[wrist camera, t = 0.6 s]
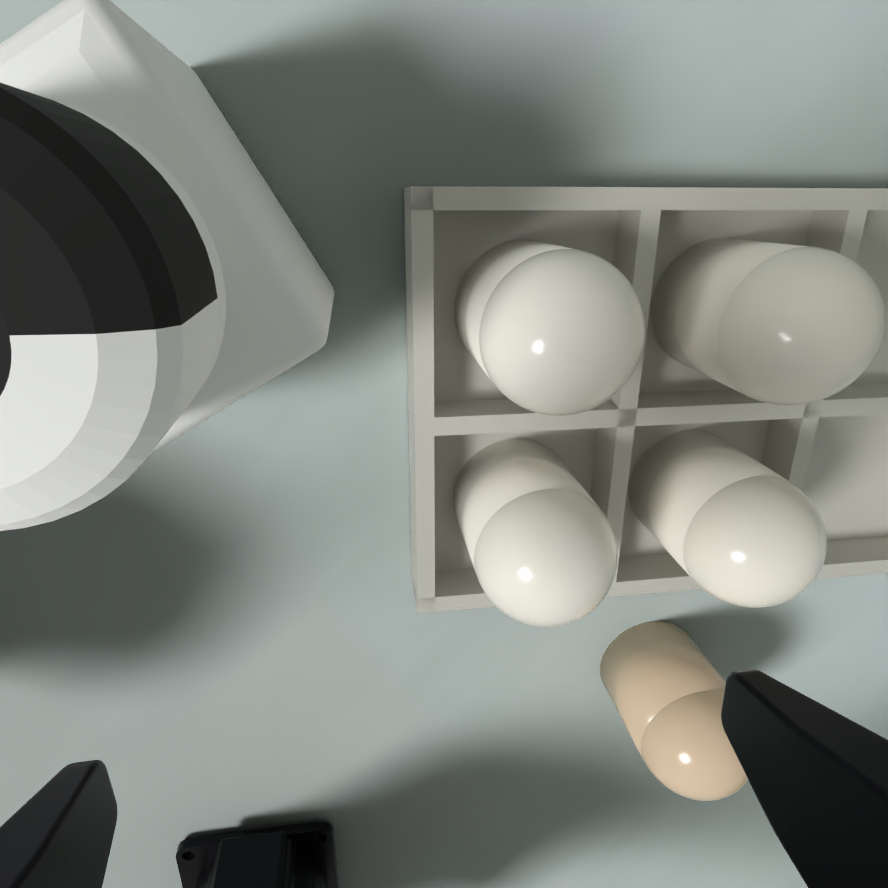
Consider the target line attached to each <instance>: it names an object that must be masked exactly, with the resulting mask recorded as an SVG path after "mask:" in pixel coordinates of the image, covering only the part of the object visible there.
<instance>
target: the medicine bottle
mask: <svg viewBox="0 0 888 888" xmlns="http://www.w3.org/2000/svg"><path fill="white" fill-rule="evenodd" d="M334 293H335V292H334V289H333V286H332V284H331V283H330V281H329V280H328V278H327V277H326V275H325V274H324V272H323V270H322V269H321V267H320V266H319V264H318V263H317V261H316V260H315V258H314V256H313V255H312V253H311V252H310V250H309V249H308V247H307V245H306V244H305V242H304V241H303V239H302V238H301V236H300V235H299V233H298V231H297V230H296V228H295V227H294V225H293V224H292V222H291V221H290V219H289V217H288V216H287V214H286V213H285V211H284V210H283V208H282V206H281V205H280V203H279V202H278V200H277V199H276V197H275V196H274V194H273V192H272V191H271V189H270V188H269V186H268V185H267V183H266V182H265V180H264V178H263V177H262V175H261V174H260V172H259V171H258V169H257V167H256V166H255V164H254V163H253V161H252V160H251V158H250V157H249V155H248V153H247V152H246V150H245V149H244V147H243V146H242V144H241V143H240V141H239V139H238V138H237V136H236V135H235V133H234V132H233V130H232V128H231V127H230V125H229V124H228V122H227V121H226V119H225V118H224V116H223V114H222V113H221V111H220V110H219V108H218V107H217V105H216V103H215V102H214V100H213V99H212V97H211V96H210V94H209V93H208V91H207V89H206V88H205V86H204V85H203V83H202V82H201V80H200V79H199V77H198V75H197V74H196V73H195V72H194V71H193V70H192V69H191V68H190V67H189V66H188V65H186V64H185V63H184V62H183V61H182V60H180V59H179V58H178V57H177V56H176V55H174V54H173V53H172V52H171V51H170V50H168V49H167V48H166V47H165V46H164V45H162V44H161V43H160V42H159V41H158V40H156V39H155V38H154V37H153V36H152V35H150V34H149V33H148V32H147V31H146V30H144V29H143V28H142V27H141V26H140V25H138V24H137V23H136V22H135V21H134V20H132V19H131V18H130V17H129V16H128V15H126V14H125V13H124V12H123V11H122V10H120V9H119V8H118V7H117V6H116V5H114V4H113V3H112V2H111V1H110V0H63V1H62V2H61V3H59V4H58V5H56V6H55V7H53V8H52V9H50V10H49V11H47V12H46V13H44V14H43V15H42V16H40V17H39V18H37V19H36V20H34V21H33V22H31V23H30V24H28V25H27V26H25V27H24V28H23V29H21V30H20V31H18V32H17V33H15V34H14V35H12V36H11V37H9V38H8V39H6V40H5V41H3V42H2V43H1V44H0V531H4V530H12V529H20V528H27V527H31V526H35V525H39V524H43V523H47V522H51V521H55V520H57V519H60V518H62V517H65V516H68V515H70V514H73V513H75V512H78V511H80V510H82V509H84V508H86V507H88V506H89V505H91V504H93V503H95V502H96V501H98V500H100V499H102V498H104V497H105V496H107V495H108V494H109V493H111V492H112V491H113V490H114V489H116V488H117V487H118V486H120V485H121V484H122V483H123V482H125V481H126V480H127V479H128V478H129V477H130V476H131V475H132V474H133V473H134V472H135V471H136V470H137V469H138V467H139V466H140V465H141V464H142V463H143V462H144V461H145V460H146V459H147V458H148V456H149V455H150V454H151V453H153V452H154V451H156V450H158V449H159V448H161V447H163V446H164V445H166V444H167V443H169V442H171V441H172V440H174V439H176V438H177V437H179V436H180V435H182V434H184V433H185V432H187V431H189V430H190V429H192V428H193V427H195V426H197V425H198V424H200V423H202V422H203V421H205V420H206V419H208V418H210V417H211V416H213V415H215V414H216V413H218V412H219V411H221V410H223V409H224V408H226V407H228V406H229V405H231V404H232V403H234V402H236V401H237V400H239V399H241V398H242V397H244V396H245V395H247V394H249V393H250V392H252V391H254V390H255V389H257V388H258V387H260V386H262V385H263V384H265V383H267V382H268V381H270V380H271V379H273V378H275V377H276V376H278V375H279V374H281V373H283V372H284V371H286V370H288V369H289V368H291V367H292V366H294V365H296V364H297V363H299V362H301V361H302V360H304V359H305V358H307V357H309V356H310V355H312V354H314V353H315V352H317V351H318V350H320V349H321V348H322V347H323V346H324V345H325V344H326V342H327V337H328V332H329V325H330V319H331V312H332V306H333V299H334Z"/></svg>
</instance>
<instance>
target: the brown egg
mask: <svg viewBox="0 0 888 888" xmlns="http://www.w3.org/2000/svg"><path fill="white" fill-rule="evenodd" d="M600 676H601V680H602V682H603V684H604V686H605V688H606V690H607V692H608V694H609V696H610V697H611V699H612V701H613V703H614V705H615V707H616V709H617V711H618V713H619V715H620V716H621V718H622V720H623V722H624V724H625V726H626V728H627V730H628V732H629V734H630V735H631V737H632V739H633V741H634V743H635V745H636V747H637V749H638V751H639V753H640V754H641V756H642V758H643V760H644V762H645V764H646V765H647V767H648V769H649V770H650V771H651V772H652V774H653V775H654V776H655V777H656V778H657V779H658V780H659V781H660V782H661V783H662V784H663V785H664V786H666V787H667V788H669V789H670V790H672V791H673V792H675V793H677V794H679V795H681V796H683V797H686V798H690V799H693V800H699V801H714V800H719V799H723V798H726V797H728V796H730V795H732V794H734V793H736V792H737V791H738V790H740V789H741V788H742V787H743V786H744V785H745V784H746V783H747V781H748V778H747V776H746V774H745V772H744V770H743V768H742V766H741V764H740V762H739V760H738V758H737V756H736V754H735V752H734V750H733V748H732V746H731V744H730V741H729V739H728V737H727V735H726V733H725V731H724V728H723V725H722V721H721V710H722V704H723V698H724V691H725V685H726V682H725V681H724V680H723V679H722V677H721V676H720V675H719V673H718V672H717V671H716V670H715V668H714V667H713V666H712V664H711V663H710V662H709V661H708V659H707V658H706V657H705V656H704V654H703V653H702V652H701V650H700V649H699V648H698V647H697V645H696V644H695V643H694V641H693V640H692V639H691V638H690V636H689V635H688V634H687V633H686V632H685V631H684V630H683V629H682V628H681V627H679V626H677V625H675V624H672V623H669V622H663V621H652V622H646V623H642V624H639V625H636V626H634V627H632V628H630V629H628V630H626V631H625V632H623V633H622V634H620V635H619V636H618V637H617V638H616V639H615V640H614V641H613V642H612V643H611V644H610V645H609V647H608V648H607V650H606V651H605V653H604V655H603V658H602V660H601V665H600Z"/></svg>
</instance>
